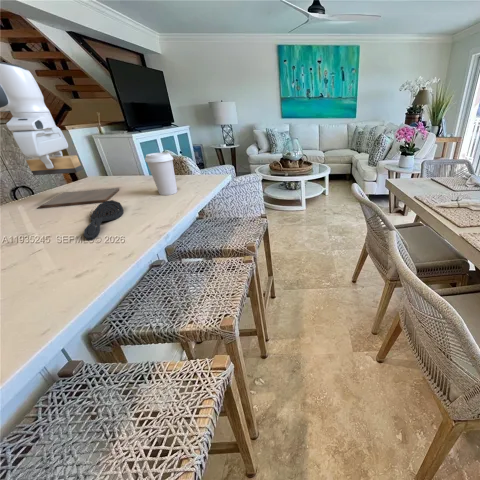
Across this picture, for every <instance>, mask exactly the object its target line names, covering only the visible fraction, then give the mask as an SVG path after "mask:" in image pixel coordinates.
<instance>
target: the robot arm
mask: <svg viewBox="0 0 480 480" xmlns="http://www.w3.org/2000/svg"><path fill="white" fill-rule="evenodd" d="M1 112H2V113H8V114H9V113H11V115H12V117H11V118H10V120H8V122H6V124H5V125H6V127H7V130H8V131H10V132H12V137H13V139H14V141H15V143H16V144H17V146H18V148H19V150H20V151H21V153H22V154H23V155H24V156H25V157H27V158H36V157H39V159H40V160H41V161H42V162H43V163H44V164H45V166H46V168H48V169H51V168H54V167H55V165H54V163H53V162H51V160H50V159H49V157H50V155H51V154H52V155H53V157H55V156H64V155H63V150H67V149H69V143H68V140H67V139H66V136H65V135H64V133H63V131H62V129H61V128H59V126H57V125H56V122H55V120H54V118H53V116H52V114H51V111H50V109H49V108H48V107H47V105H46V103H45V97H44V95H43V93H42V90H41V88H40V86H39V84H38V82H37V81H36V79H35V77H34V76H33V74H32V73H31V71H30V70H29V69H27V68H26V67H24V66H22V65H19V64H15V63H10V62H4V61H0V113H1ZM49 154H50V155H49Z"/></svg>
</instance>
